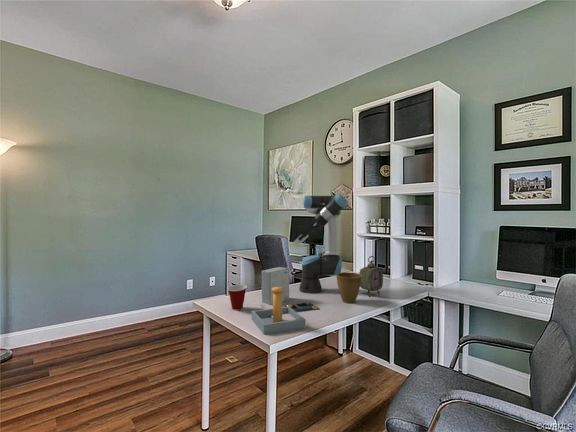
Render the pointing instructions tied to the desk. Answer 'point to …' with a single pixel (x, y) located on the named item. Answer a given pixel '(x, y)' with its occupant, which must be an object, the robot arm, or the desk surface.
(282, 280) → the hard drive box
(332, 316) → the desk surface
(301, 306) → the tensioner bracket
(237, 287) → the plastic cup
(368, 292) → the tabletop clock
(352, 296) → the plant pot
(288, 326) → the pin tray
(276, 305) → the pin
